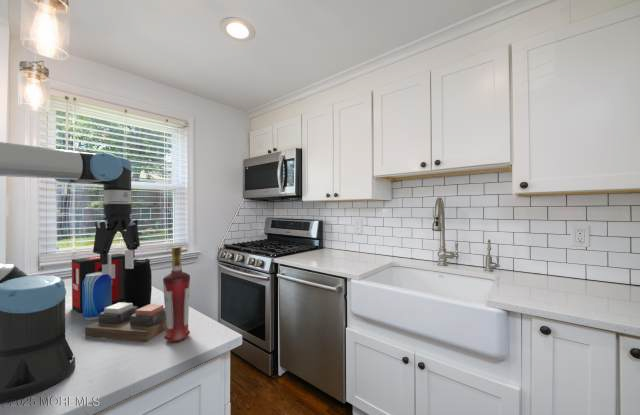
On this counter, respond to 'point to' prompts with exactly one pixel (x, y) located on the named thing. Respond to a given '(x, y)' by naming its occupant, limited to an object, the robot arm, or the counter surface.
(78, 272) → the cleaning product box
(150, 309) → the brick-red key
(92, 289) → the blue striped container
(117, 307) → the off-white key
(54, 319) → the robot arm
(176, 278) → the liquor
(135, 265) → the black tapered cylinder
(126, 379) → the counter surface
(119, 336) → the key panel
